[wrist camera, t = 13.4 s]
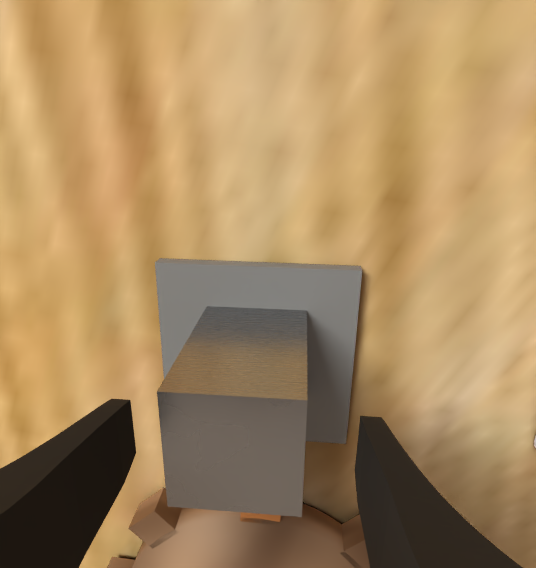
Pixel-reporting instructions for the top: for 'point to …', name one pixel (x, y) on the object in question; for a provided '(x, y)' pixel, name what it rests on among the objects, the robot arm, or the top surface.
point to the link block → (237, 413)
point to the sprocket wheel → (241, 539)
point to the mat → (274, 295)
